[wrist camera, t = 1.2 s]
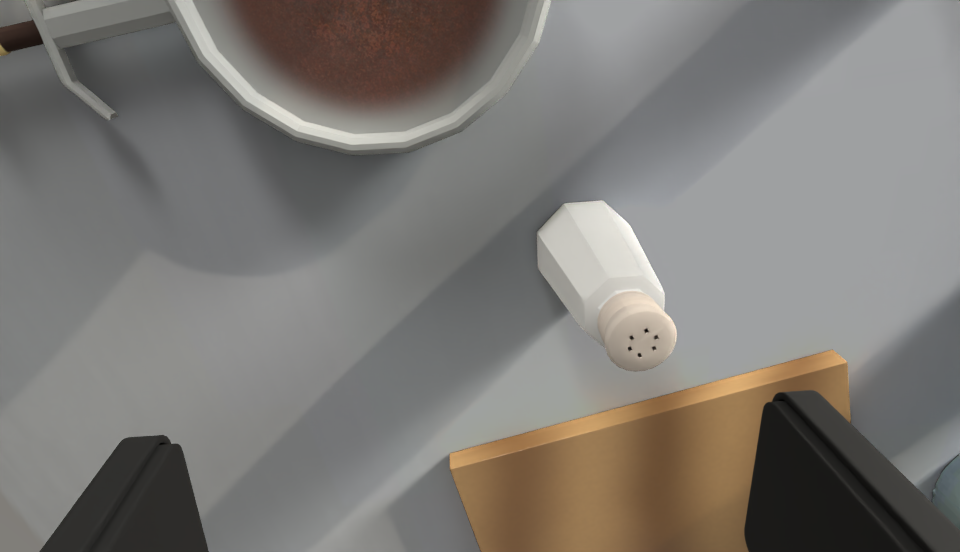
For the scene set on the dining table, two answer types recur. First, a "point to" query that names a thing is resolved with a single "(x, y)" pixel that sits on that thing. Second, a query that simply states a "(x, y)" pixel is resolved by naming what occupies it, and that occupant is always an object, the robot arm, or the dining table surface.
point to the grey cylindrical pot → (949, 492)
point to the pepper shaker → (606, 283)
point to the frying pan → (322, 59)
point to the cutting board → (636, 469)
